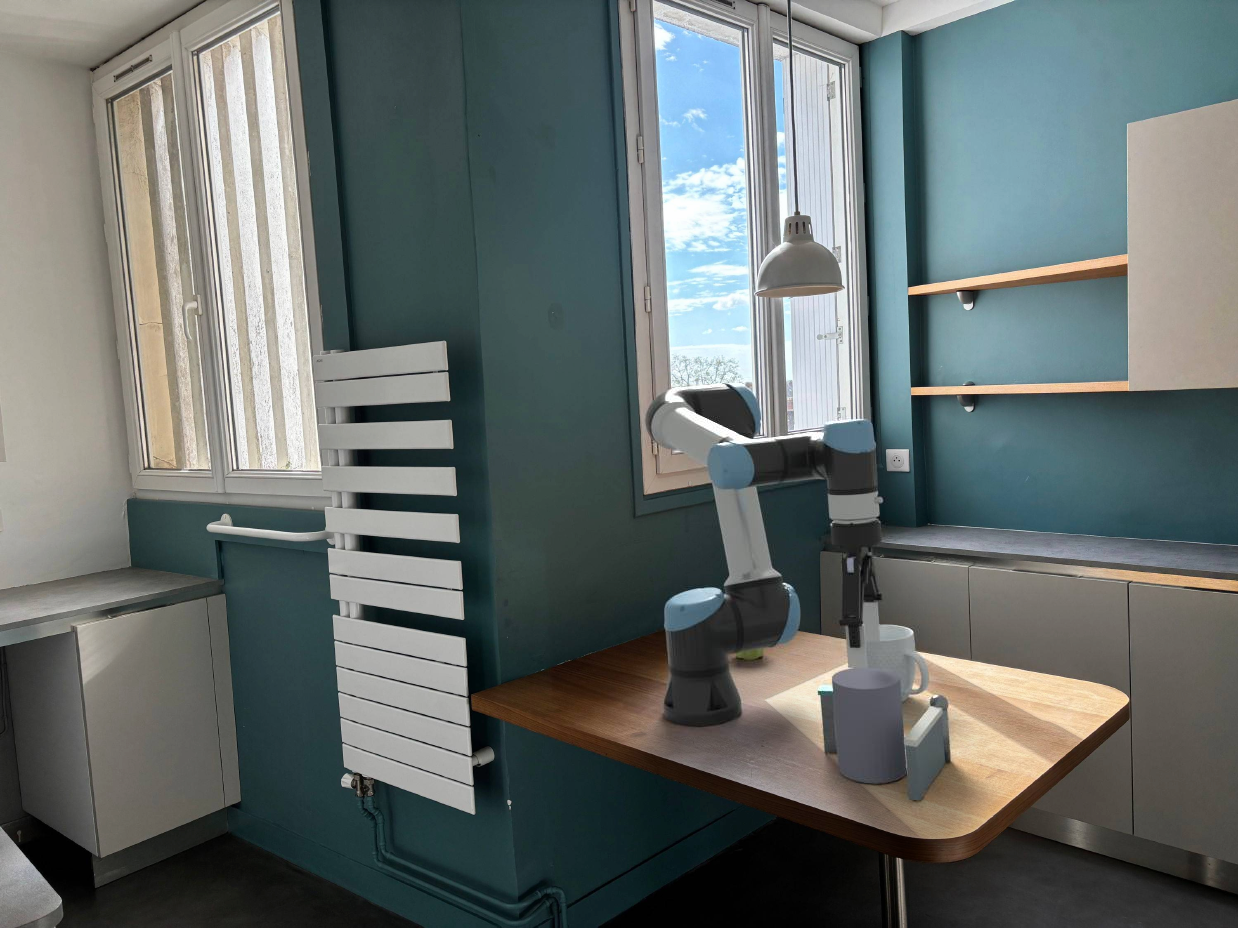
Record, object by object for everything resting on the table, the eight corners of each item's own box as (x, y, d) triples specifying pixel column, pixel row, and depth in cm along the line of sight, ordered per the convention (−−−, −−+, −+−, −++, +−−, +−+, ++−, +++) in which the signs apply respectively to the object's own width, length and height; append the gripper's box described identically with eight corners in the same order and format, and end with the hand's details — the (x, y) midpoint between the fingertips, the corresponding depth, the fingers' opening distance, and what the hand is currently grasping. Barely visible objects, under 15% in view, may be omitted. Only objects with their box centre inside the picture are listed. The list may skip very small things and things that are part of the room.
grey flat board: (934, 760, 137) (930, 706, 136) (946, 762, 136) (942, 707, 135) (908, 798, 125) (903, 738, 125) (920, 800, 124) (916, 740, 124)
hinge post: (932, 763, 137) (928, 697, 136) (934, 756, 139) (929, 691, 139) (951, 764, 136) (947, 698, 135) (952, 757, 138) (948, 692, 137)
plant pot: (773, 660, 196) (770, 622, 196) (732, 663, 197) (729, 626, 196) (767, 648, 206) (764, 612, 205) (727, 651, 206) (724, 616, 205)
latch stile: (822, 753, 144) (817, 690, 144) (825, 747, 147) (820, 685, 146) (838, 754, 143) (833, 691, 142) (841, 748, 146) (836, 685, 145)
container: (834, 782, 133) (827, 687, 132) (842, 755, 143) (835, 666, 142) (905, 787, 130) (898, 690, 129) (908, 759, 139) (901, 668, 138)
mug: (948, 702, 162) (943, 633, 161) (910, 718, 156) (905, 647, 155) (884, 684, 174) (879, 621, 173) (846, 699, 168) (841, 633, 167)
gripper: (867, 532, 121) (878, 680, 122) (890, 506, 143) (899, 632, 145) (813, 533, 124) (825, 678, 125) (844, 508, 147) (853, 631, 148)
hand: (865, 653), depth 135 cm, fingers open, 13 cm apart
